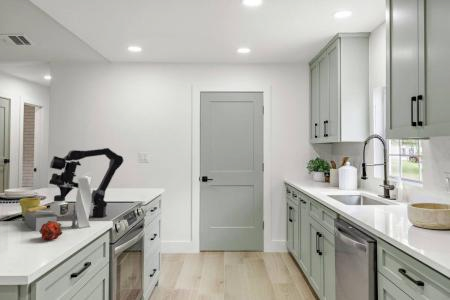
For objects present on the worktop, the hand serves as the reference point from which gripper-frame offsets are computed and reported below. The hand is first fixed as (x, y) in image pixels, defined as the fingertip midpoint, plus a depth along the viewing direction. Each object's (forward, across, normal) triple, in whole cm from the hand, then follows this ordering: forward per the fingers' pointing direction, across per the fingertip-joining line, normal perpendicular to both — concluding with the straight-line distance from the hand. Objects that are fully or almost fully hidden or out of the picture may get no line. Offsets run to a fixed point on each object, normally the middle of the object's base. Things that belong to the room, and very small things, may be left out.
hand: (62, 198), depth 184 cm
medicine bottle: (+11, -13, -12) cm, 21 cm away
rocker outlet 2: (+7, +17, +8) cm, 20 cm away
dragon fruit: (+15, +29, +28) cm, 43 cm away
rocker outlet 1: (+7, +11, -4) cm, 13 cm away
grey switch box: (+14, +12, +3) cm, 19 cm away
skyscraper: (+11, +5, +23) cm, 26 cm away
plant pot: (+15, -4, -24) cm, 28 cm away
